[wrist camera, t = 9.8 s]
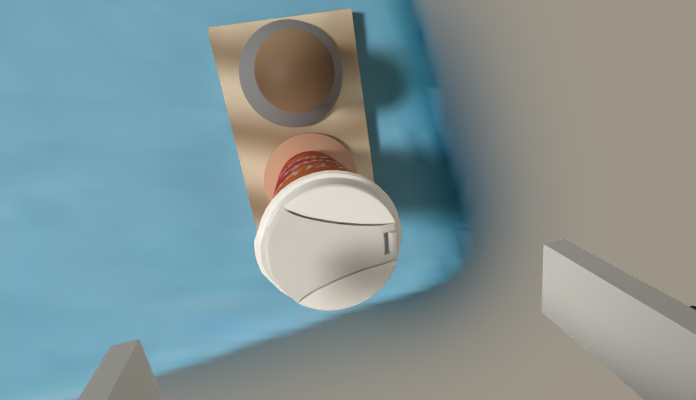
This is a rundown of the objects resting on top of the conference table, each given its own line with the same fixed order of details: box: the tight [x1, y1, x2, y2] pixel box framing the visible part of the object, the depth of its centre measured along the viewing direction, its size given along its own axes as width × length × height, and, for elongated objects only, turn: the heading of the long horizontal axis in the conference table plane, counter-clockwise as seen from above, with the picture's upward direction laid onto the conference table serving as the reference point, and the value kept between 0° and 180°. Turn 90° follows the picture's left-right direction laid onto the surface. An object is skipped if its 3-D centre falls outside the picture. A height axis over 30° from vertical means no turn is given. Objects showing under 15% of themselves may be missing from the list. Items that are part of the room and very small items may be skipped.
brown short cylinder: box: [254, 29, 335, 113], centre depth 26 cm, size 5×5×6 cm
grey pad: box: [239, 19, 343, 127], centre depth 29 cm, size 8×8×1 cm
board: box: [207, 9, 374, 232], centre depth 31 cm, size 17×11×1 cm, turn 8°
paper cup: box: [254, 151, 402, 310], centre depth 25 cm, size 8×8×14 cm
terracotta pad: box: [264, 133, 357, 202], centre depth 31 cm, size 8×8×1 cm
